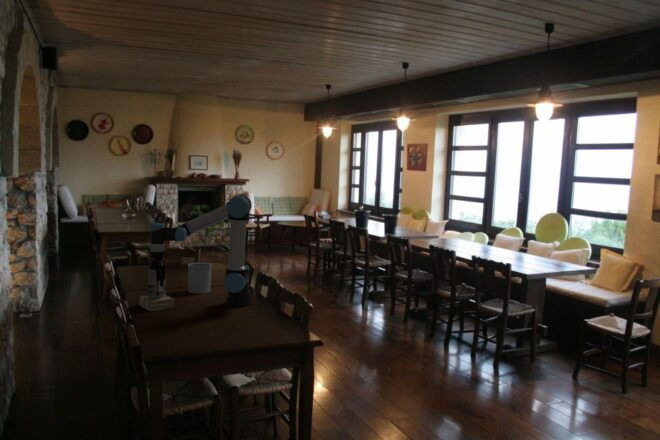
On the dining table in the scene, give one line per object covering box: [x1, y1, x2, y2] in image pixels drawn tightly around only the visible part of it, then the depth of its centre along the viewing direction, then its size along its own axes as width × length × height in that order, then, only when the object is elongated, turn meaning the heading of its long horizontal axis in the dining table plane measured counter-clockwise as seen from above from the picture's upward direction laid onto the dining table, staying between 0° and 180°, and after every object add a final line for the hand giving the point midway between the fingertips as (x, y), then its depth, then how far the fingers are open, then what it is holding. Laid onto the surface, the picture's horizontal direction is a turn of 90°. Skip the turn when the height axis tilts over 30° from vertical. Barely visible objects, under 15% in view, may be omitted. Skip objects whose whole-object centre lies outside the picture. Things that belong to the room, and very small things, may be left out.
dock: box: [138, 294, 176, 312], centre depth 306 cm, size 16×14×5 cm
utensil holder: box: [187, 262, 213, 295], centre depth 346 cm, size 15×15×18 cm
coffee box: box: [147, 266, 167, 298], centre depth 305 cm, size 9×6×16 cm
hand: (156, 289), depth 306 cm, fingers open, 10 cm apart
